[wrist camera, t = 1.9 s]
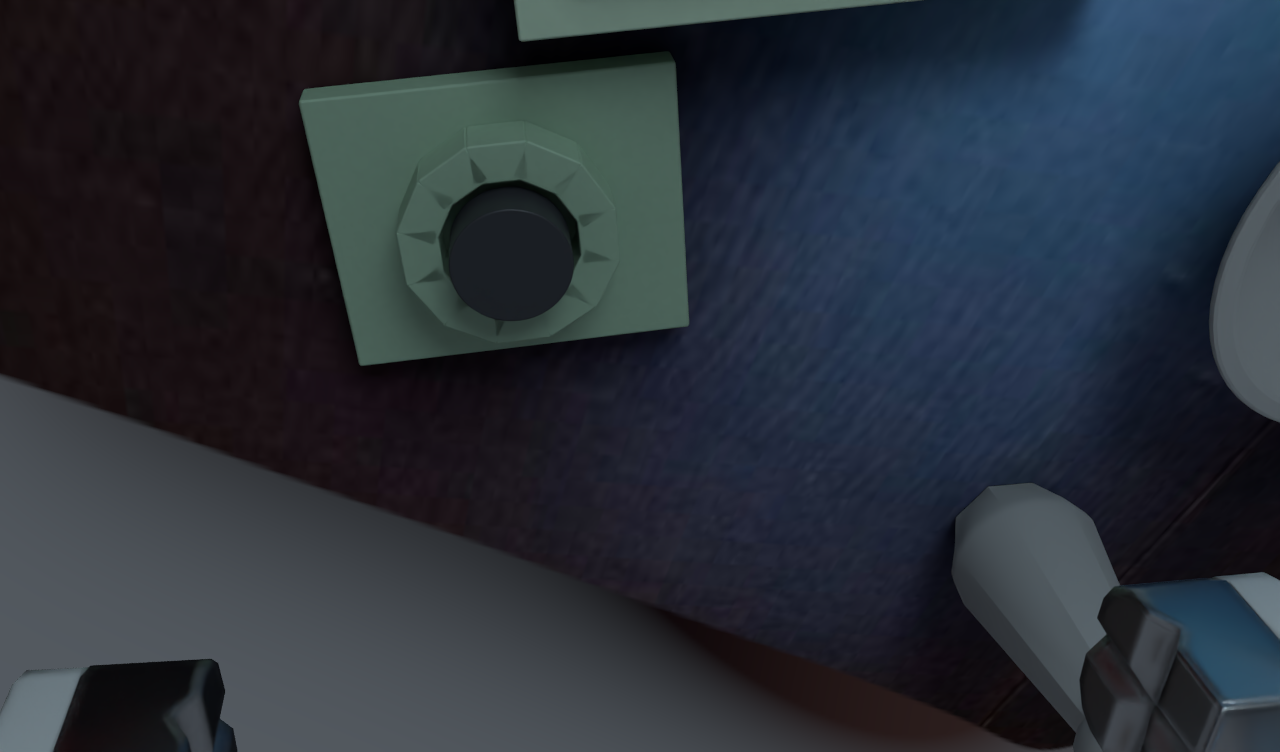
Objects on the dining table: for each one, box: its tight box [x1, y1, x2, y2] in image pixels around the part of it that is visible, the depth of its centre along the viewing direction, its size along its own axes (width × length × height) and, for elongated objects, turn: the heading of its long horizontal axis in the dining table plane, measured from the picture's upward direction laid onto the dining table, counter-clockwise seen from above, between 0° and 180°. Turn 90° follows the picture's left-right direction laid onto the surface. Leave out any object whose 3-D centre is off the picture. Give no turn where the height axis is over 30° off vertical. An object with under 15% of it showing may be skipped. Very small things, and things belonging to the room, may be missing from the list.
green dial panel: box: [299, 51, 689, 366], centre depth 35 cm, size 11×9×3 cm
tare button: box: [449, 186, 574, 321], centre depth 34 cm, size 4×4×2 cm
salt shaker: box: [951, 483, 1120, 752], centre depth 41 cm, size 6×6×13 cm
